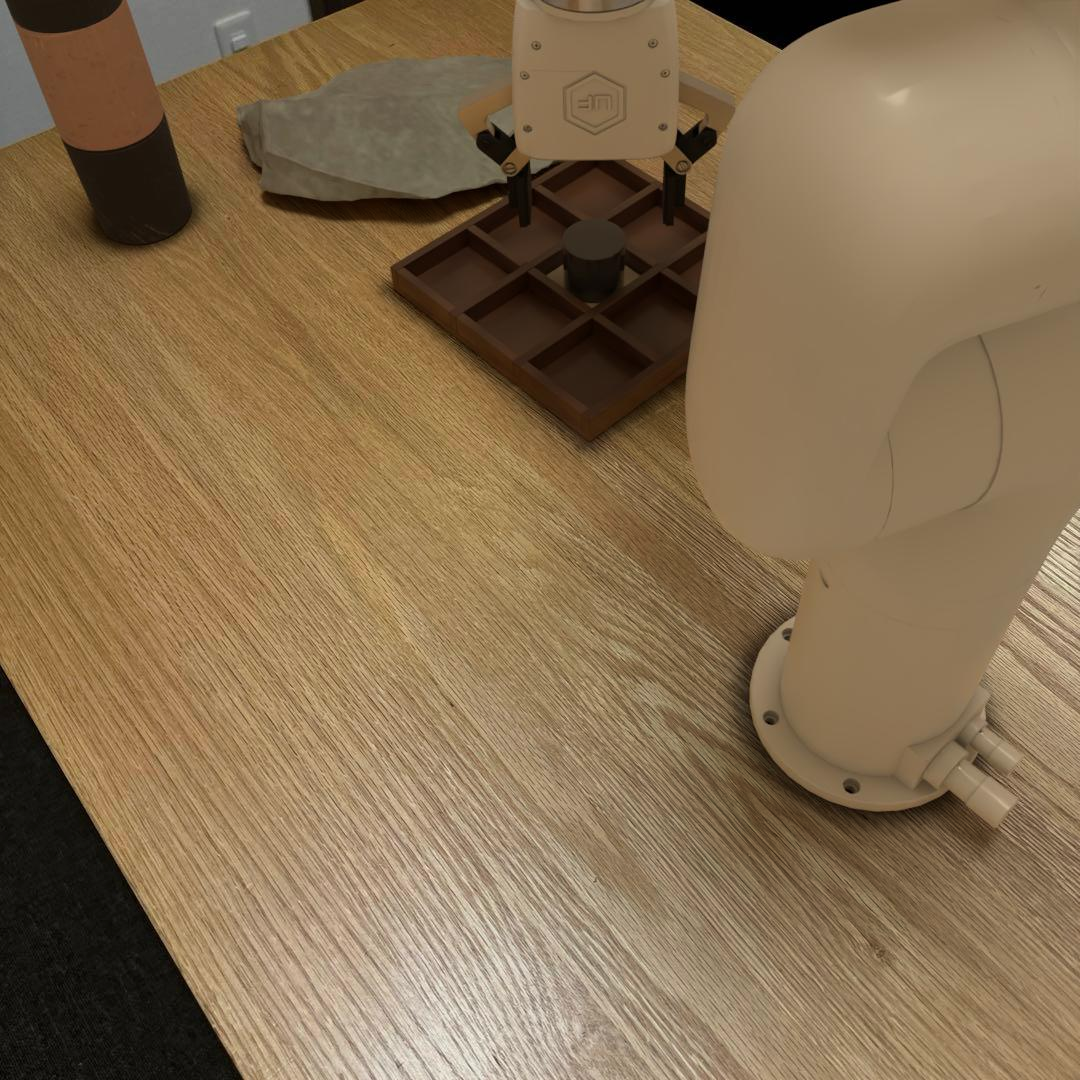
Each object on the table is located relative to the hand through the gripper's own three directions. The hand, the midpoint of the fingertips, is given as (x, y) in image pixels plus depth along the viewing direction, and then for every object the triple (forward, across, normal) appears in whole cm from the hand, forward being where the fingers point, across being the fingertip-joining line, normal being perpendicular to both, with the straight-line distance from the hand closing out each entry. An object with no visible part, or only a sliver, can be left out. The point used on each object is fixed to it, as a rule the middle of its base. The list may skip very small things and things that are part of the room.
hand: (596, 213), depth 81 cm
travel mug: (+7, -36, +9) cm, 37 cm away
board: (+7, 0, +1) cm, 7 cm away
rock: (+7, -16, +18) cm, 25 cm away
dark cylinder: (+6, 0, 0) cm, 6 cm away
